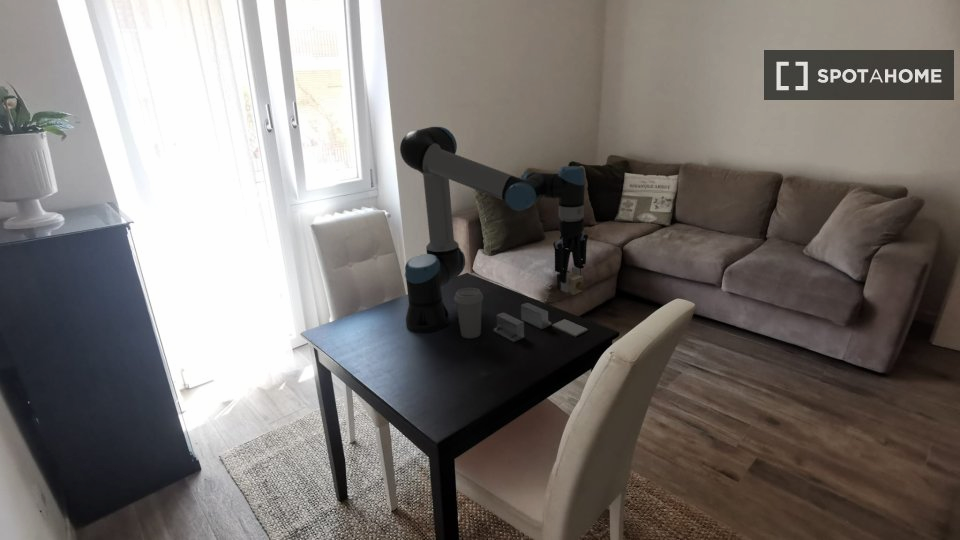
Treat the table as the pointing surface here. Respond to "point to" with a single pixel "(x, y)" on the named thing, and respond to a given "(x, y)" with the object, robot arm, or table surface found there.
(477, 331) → the coffee cup
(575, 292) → the tan piece
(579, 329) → the mat
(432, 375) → the table surface
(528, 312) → the dark grey boxy pieces
